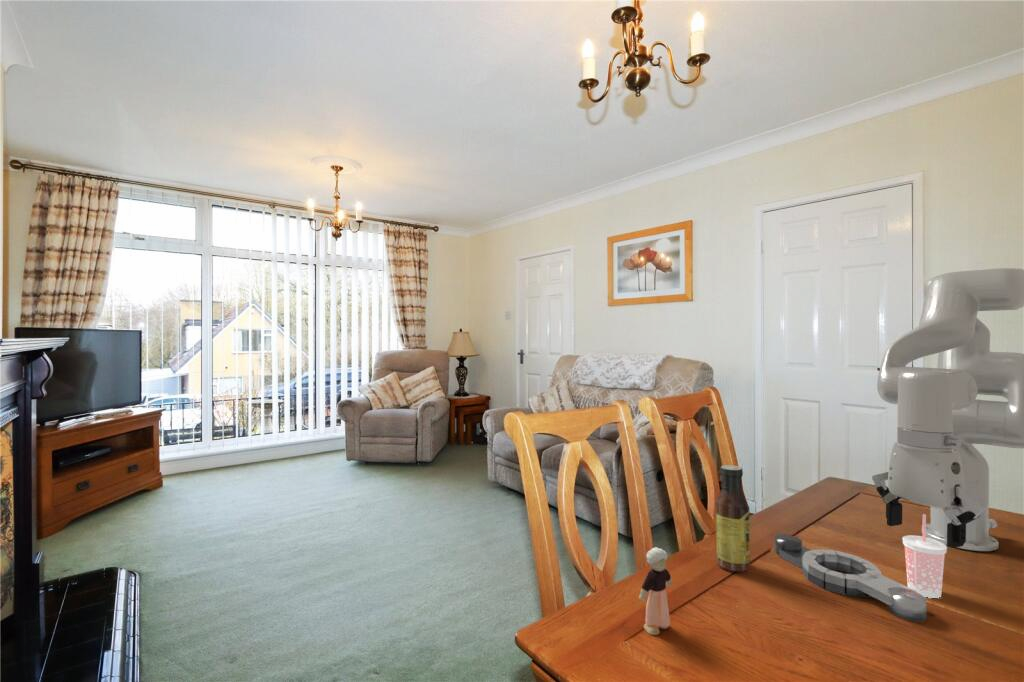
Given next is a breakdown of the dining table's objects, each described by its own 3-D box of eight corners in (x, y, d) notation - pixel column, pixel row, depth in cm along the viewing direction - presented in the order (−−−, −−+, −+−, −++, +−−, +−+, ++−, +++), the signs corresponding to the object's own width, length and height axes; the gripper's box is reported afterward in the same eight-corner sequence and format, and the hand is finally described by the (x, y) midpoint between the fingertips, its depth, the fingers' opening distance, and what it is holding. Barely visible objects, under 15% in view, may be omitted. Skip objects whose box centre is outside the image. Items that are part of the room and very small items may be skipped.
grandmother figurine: (658, 642, 73) (657, 560, 73) (635, 632, 76) (635, 552, 76) (679, 620, 79) (679, 543, 79) (657, 611, 81) (657, 536, 81)
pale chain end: (833, 560, 98) (833, 545, 98) (948, 614, 79) (948, 596, 79) (788, 569, 95) (788, 554, 95) (897, 629, 76) (897, 610, 76)
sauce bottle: (754, 575, 93) (754, 473, 93) (720, 572, 94) (719, 471, 94) (745, 559, 99) (744, 464, 99) (713, 557, 101) (712, 462, 100)
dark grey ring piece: (799, 544, 106) (799, 530, 106) (896, 589, 87) (896, 573, 87) (756, 552, 102) (756, 538, 102) (847, 602, 83) (847, 585, 83)
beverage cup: (955, 597, 85) (955, 518, 84) (933, 604, 82) (933, 523, 82) (915, 580, 90) (915, 506, 90) (894, 586, 88) (894, 511, 88)
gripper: (999, 448, 79) (998, 552, 79) (888, 429, 95) (887, 516, 95) (969, 451, 76) (968, 559, 76) (860, 431, 93) (859, 520, 93)
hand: (923, 535), depth 86 cm, fingers open, 9 cm apart
